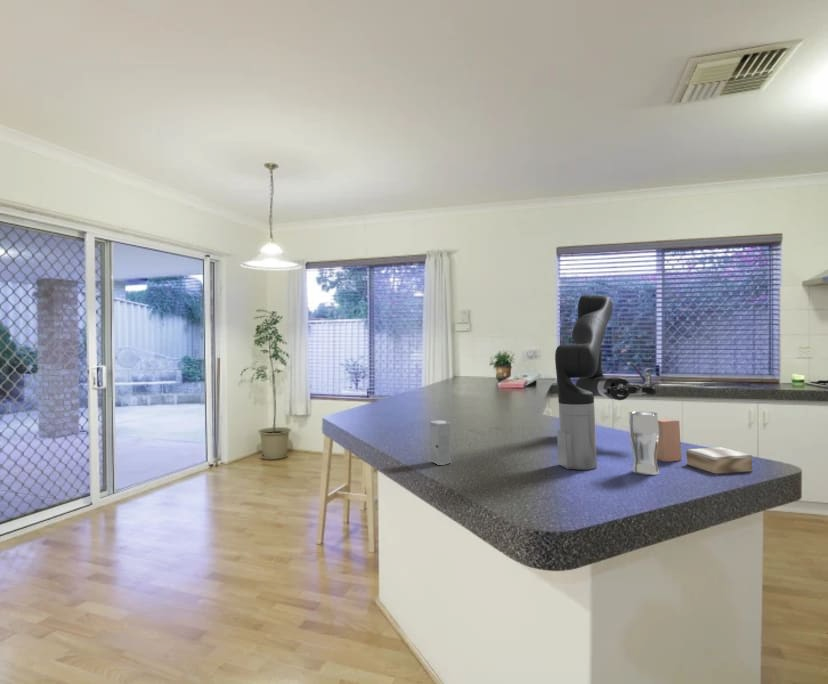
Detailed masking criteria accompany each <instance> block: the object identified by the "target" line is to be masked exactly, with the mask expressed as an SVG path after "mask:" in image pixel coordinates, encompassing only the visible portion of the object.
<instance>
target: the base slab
mask: <svg viewBox="0 0 828 684" xmlns="http://www.w3.org/2000/svg"><path fill="white" fill-rule="evenodd" d="M686 460H687V463H686V464H687V465H689V466H691V467H694V468H697V469H700V470H704V471H706V472H709V473H712V474H727V473H728V474H729V473H743V472H744V473H745V472H753V463H752V461H753V459H752V454H749V453H745V452H741V451H737V450H734V449H733V450H732V449H729V448H725V447H721V446H720V447H705V448H704V447H702V448H688V449H686Z"/></svg>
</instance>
